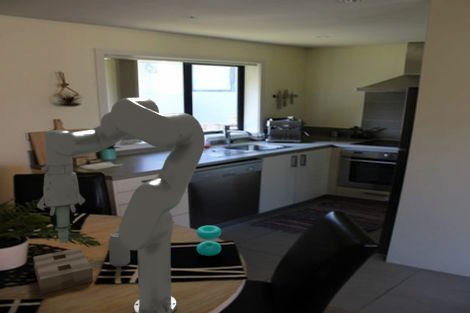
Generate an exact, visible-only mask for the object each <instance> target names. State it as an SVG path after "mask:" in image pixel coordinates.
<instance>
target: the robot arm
mask: <svg viewBox="0 0 470 313" xmlns="http://www.w3.org/2000/svg"><path fill="white" fill-rule="evenodd" d="M128 137H133V138H135V139H137V140H139V141H141V142H144V143H146V144H147V145H150V146H152V147H155V148H160V149H163V148H164V149H165V148H166V149H167V148H171V147H173V148H172V150H171V151H170V152H169V154H168V155H167V156H166V159H165V160H164V162H163V165H162V167H161V169H160V171H159V173H158V175H157V176H155V178H153V179H151V180H148V181H146V182H144V183H142V184H141V185H139V186H138V187H137V188H136V189H135V191H134V192H133V193H132V195H131V197H130V199H129V202H128V203H127V204H128V205H127V207H125V208H126V209H125V211H124V214H123V215H122V218H121V221H120V223H119V227H118V231H119V238H120V241H121V243H122V244H123V246H124V247H126V248H127V249H130V251H137V274H138V275H137V276H138V278H137V279H138V283H137V284H138V299H137V301H135V303H134V305H133V313H174V311H176V309H177V300H176V298H174V296H172V275H171V274H172V270H171V269H172V267H171V265H172V263H171V259H172V258H171V257H172V256H171V255H172V254H171V253H172V252H171V246H172V245H171V244H172V236H173V229H174V219H173V215H172V213H171V210H173V209H175V208H177V206H178V205H179V204H180V202H181V201H182V199H183V197H184V195H185V193H186V190H187V188H188V187H189V184H190V182H191V180H192V177H193V175H194V172H196V168H197V166H198V164H199V163H200V161H201V158H202V156H203V153H204V149H205V144H206V143H205V139H206V138H205V133H204V130H203V126H202V125H201V123H200V122H199V120H198V119H196V118H195V116H193V115H191V114H189V113H184V112H175V113H164V114H161V113H160V109H159V106H158V105H157V103H155V101H153V99H150V98H146V97H124V98H121V99H119V100H117V101H115V103H113V105H112V107H111V110H110V111H109V112H107V113H105V114H104V115H103V116H102V117H101V120H100V125H98V126H95V127H93V128H91V129H85V130H84V129H83V130H77V131H69V130H63V129H54V130H48V131H46V133H45V136H44V143H45V160H46V164H45V166H43V167H41V172H45V174H44V178H43V189H42V190H43V196H42V197H41V198H40V200H39V202H38V203H37V205H36V207H37V208H38V209H40V210H42V211H44V212H46V213H47V214H48V215H49V220H50V225H52V226H53V228H55V227H56V215H55V207H57V206H64V205H69V209H70V226H72V225H74V221H75V220H76V218H75V217H76V216H75V213H76V211H77V209H78V208H79V207H80V206H82V204H84V203H85V202H86V199H85V198H84V197H83V196H82V194H81V193H80V188H79V181H78V177H77V176H78V175H77V173H76V172H74V164H73V158H76V157H81V156H85V155H90V154H95V153H99V152H101V151H103V150H106V149H108V148H110V147H112V146H114V145H116V144H118V142H120V141H121V140H124V139H126V138H128ZM44 204H45V205H44Z"/></svg>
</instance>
